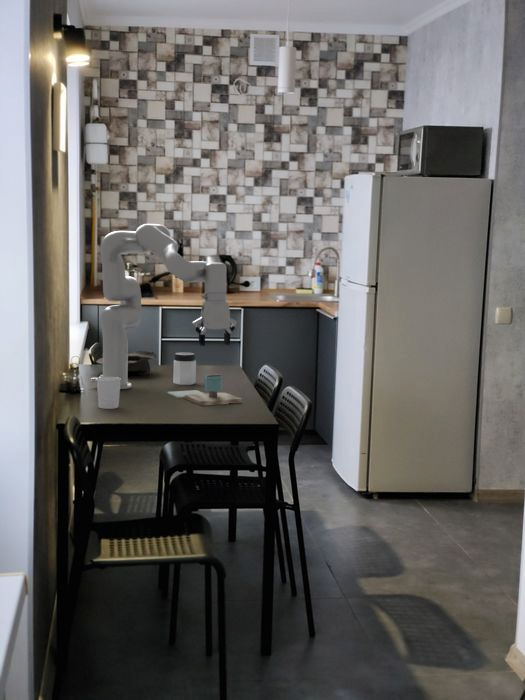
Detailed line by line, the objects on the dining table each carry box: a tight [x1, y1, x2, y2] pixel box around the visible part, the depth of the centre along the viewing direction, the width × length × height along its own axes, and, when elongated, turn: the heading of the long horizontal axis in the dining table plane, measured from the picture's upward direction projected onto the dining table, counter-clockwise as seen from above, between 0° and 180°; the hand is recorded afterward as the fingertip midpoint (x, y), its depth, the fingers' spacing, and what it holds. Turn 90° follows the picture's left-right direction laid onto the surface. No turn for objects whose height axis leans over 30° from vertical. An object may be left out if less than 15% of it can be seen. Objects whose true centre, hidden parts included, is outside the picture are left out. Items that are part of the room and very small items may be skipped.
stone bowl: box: [96, 350, 158, 376], centre depth 389 cm, size 25×25×9 cm
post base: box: [184, 391, 243, 407], centre depth 334 cm, size 16×14×8 cm
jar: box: [172, 351, 197, 386], centre depth 369 cm, size 9×8×12 cm
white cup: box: [96, 376, 121, 410], centre depth 316 cm, size 8×8×10 cm
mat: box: [167, 389, 205, 399], centre depth 344 cm, size 12×10×1 cm
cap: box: [203, 373, 223, 392], centre depth 333 cm, size 6×6×6 cm
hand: (214, 344), depth 331 cm, fingers open, 9 cm apart
